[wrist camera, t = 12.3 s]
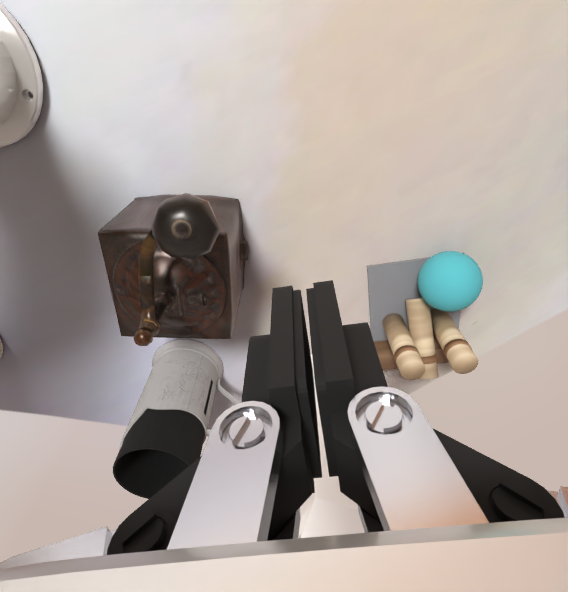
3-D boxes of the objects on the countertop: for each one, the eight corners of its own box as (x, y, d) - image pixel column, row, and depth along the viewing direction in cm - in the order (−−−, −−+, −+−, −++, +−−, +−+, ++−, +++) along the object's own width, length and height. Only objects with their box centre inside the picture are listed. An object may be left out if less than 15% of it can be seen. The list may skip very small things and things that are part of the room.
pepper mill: (250, 290, 44) (231, 415, 29) (149, 288, 44) (76, 413, 29) (245, 141, 37) (216, 203, 21) (122, 139, 37) (3, 200, 21)
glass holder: (150, 335, 48) (100, 439, 35) (270, 348, 48) (265, 453, 36) (153, 390, 52) (110, 500, 39) (263, 400, 53) (256, 511, 40)
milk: (327, 398, 53) (351, 591, 34) (284, 384, 52) (284, 577, 33) (349, 365, 50) (388, 556, 31) (304, 350, 49) (317, 539, 30)
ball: (429, 325, 43) (398, 277, 43) (474, 296, 43) (443, 249, 44) (456, 319, 37) (419, 263, 37) (508, 285, 37) (470, 232, 38)
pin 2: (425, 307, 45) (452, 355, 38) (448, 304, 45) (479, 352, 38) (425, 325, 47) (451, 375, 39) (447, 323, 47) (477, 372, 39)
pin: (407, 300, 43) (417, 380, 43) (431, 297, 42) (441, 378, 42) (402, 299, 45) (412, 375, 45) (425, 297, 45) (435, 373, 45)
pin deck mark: (367, 265, 43) (367, 266, 43) (463, 252, 42) (464, 253, 42) (371, 340, 48) (371, 341, 48) (457, 330, 47) (458, 331, 47)
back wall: (371, 340, 48) (376, 357, 45) (448, 331, 47) (458, 347, 45) (372, 354, 49) (376, 370, 46) (448, 345, 48) (457, 361, 46)
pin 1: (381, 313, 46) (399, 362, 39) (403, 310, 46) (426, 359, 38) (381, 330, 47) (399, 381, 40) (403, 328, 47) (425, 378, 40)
